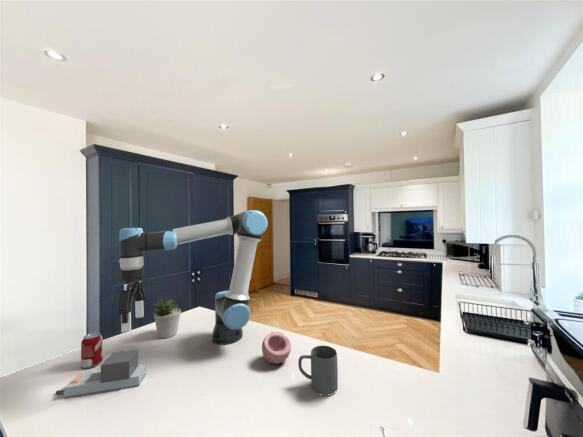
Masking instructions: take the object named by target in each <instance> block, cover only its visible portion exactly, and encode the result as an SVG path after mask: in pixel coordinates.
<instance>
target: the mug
mask: <svg viewBox="0 0 583 437" xmlns="http://www.w3.org/2000/svg"><path fill="white" fill-rule="evenodd" d="M303 359H310V374H308V373H307V372H306V371H305V370H304V368H303V366H302V361H303ZM297 366H298V371H300V373H301V375H303V376H304V377H305V378H307V379H309V380H311V381H310V382H311V388H312V390H313V392H314V391H315V392H314V393H316V394H317V393H319V394H322V395H328V394H332V393H334V392H335V391H336V390H337V391H338V386H339V384H338V383H339V382H338V380H339V376H338V374H339V373H338V372H339V371H338V368H339V367H338V352H337V350H336V349H335V348H333V347H332V346H330V345H316V346H315V347H313V348H312V349H311V351H310V355H309V354H308V355H307V354H303V355H300V356H299V358H298V363H297ZM337 391H336V392H337ZM319 394H318V395H319ZM334 394H335V393H334ZM322 395H321V396H322Z"/></svg>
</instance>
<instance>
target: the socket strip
mask: <svg viewBox="0 0 583 437" xmlns="http://www.w3.org/2000/svg"><path fill="white" fill-rule="evenodd" d="M146 368H147V367H146V364H142V365H138V366H137V368H136V369H135V371H134V372H133V374H132V375H131V377H130V378H129V379H125V380H118V381H112V382H106V383H100V376H101V371H97V372H87V373H84V374H77V375H75V377H73V378H72V379H71V380H70V381H69V383H67V384H66V385H65V386H64V387H63V389H60V390H56V391H55V394H56V395H59V394H63V399H70V398H76V397H82V396H88V395H96V394H100V393H107V392H113V391H118V390H124V389H129V388H130V389H131V388H135V387H136V388H137V387H139V386H140V385H141V383H142V382H143V380H144V378H145V376H146V375H147V373H146V372H147V370H146Z"/></svg>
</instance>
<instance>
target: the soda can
mask: <svg viewBox="0 0 583 437" xmlns="http://www.w3.org/2000/svg"><path fill="white" fill-rule="evenodd" d="M82 338H83V339H82V340H81V343H80V345H81V346H80V349H81V351H80V367H81V368H83V369H91V368H95V367H96V366H98V365H99V364H100V363H101V364H102V363H103V349H104V348H103V344H104V343H103V340H104V339H103V336H102V334H101V332H100V331H99V332H91V333H88V334H86V335H84V336H83V337H82Z"/></svg>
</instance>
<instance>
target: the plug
mask: <svg viewBox="0 0 583 437" xmlns="http://www.w3.org/2000/svg"><path fill="white" fill-rule="evenodd" d="M137 366H139V349H138V348H137V349H131V350H129V349H128V350H123V351H115V352H114V351H113V352H112V353H111V354H109V356H107V358H106V359H105V360H104V361H102V362H101V364H100V372H101V376H100V383H106V382H112V381H118V380H125V379H129V378H130V377H131V375H132V374H133V372H134V371H135V369H136V368H137Z"/></svg>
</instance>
